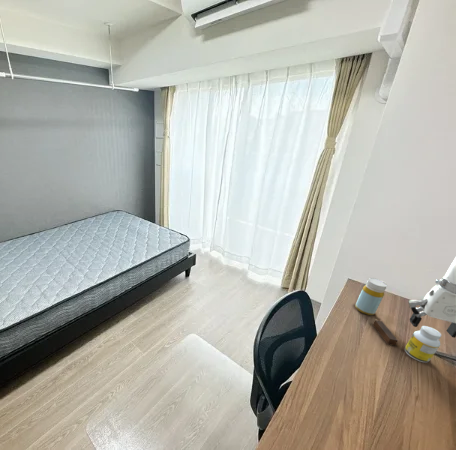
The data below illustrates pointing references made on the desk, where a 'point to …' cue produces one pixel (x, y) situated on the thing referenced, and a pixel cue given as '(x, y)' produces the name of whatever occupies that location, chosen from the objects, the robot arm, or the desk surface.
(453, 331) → the robot arm
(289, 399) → the desk surface
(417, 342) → the pill bottle
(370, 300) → the bottle
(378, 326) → the walnut bar
